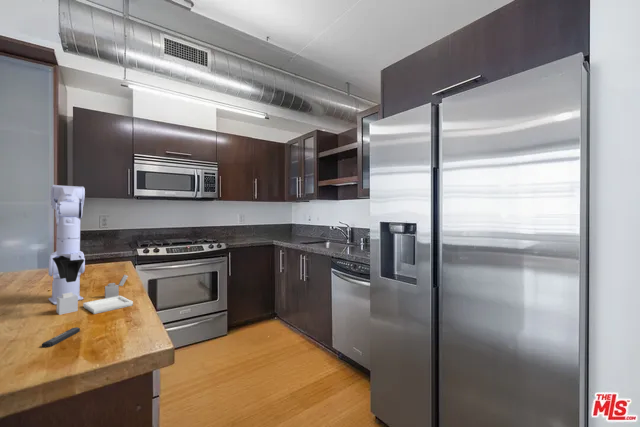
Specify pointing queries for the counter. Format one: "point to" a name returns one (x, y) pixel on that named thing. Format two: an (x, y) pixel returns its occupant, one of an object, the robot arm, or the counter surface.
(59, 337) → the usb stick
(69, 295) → the plug
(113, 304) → the dish
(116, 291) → the lighter
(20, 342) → the counter surface
